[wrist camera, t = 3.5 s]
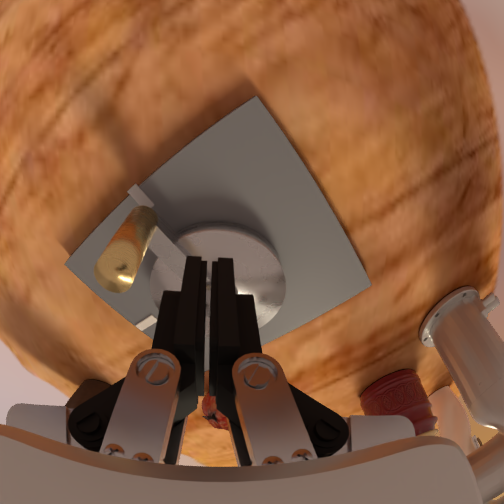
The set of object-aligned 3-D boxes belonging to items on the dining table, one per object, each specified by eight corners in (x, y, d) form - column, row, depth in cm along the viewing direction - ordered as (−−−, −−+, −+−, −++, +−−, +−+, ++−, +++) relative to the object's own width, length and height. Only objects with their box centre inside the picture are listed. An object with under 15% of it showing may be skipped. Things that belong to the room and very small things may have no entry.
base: (252, 91, 19) (253, 91, 17) (366, 276, 29) (372, 286, 28) (67, 253, 25) (61, 262, 24) (202, 364, 36) (201, 373, 34)
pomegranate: (255, 374, 42) (222, 388, 33) (270, 414, 39) (240, 437, 30) (219, 384, 44) (181, 397, 35) (232, 421, 41) (198, 441, 33)
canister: (346, 397, 46) (369, 477, 31) (403, 360, 41) (440, 443, 26) (375, 406, 51) (396, 472, 36) (423, 375, 46) (453, 442, 31)
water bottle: (440, 383, 51) (478, 471, 28) (459, 379, 53) (495, 458, 29) (417, 405, 57) (448, 487, 33) (437, 400, 58) (467, 475, 35)
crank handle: (305, 287, 27) (329, 361, 20) (210, 338, 30) (209, 409, 23) (196, 151, 19) (174, 193, 12) (98, 239, 23) (54, 306, 15)
